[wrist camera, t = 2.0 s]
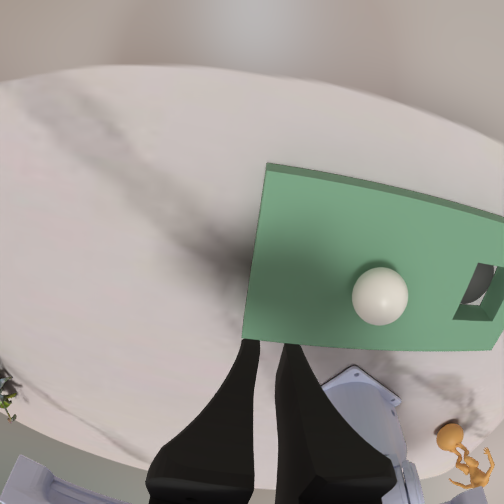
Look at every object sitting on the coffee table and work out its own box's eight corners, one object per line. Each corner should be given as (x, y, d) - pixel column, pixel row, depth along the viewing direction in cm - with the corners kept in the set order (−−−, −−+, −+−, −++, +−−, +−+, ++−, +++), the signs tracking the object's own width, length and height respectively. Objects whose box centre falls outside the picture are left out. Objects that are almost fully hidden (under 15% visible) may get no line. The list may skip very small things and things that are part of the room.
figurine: (452, 408, 31) (481, 483, 20) (481, 405, 31) (510, 472, 20) (420, 443, 34) (439, 511, 24) (449, 439, 35) (470, 501, 24)
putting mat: (529, 226, 20) (545, 237, 18) (480, 334, 25) (491, 350, 23) (266, 162, 20) (266, 170, 17) (243, 317, 25) (241, 338, 23)
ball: (406, 279, 20) (426, 310, 17) (367, 312, 21) (380, 346, 18) (377, 246, 19) (396, 275, 16) (335, 283, 20) (347, 316, 17)
